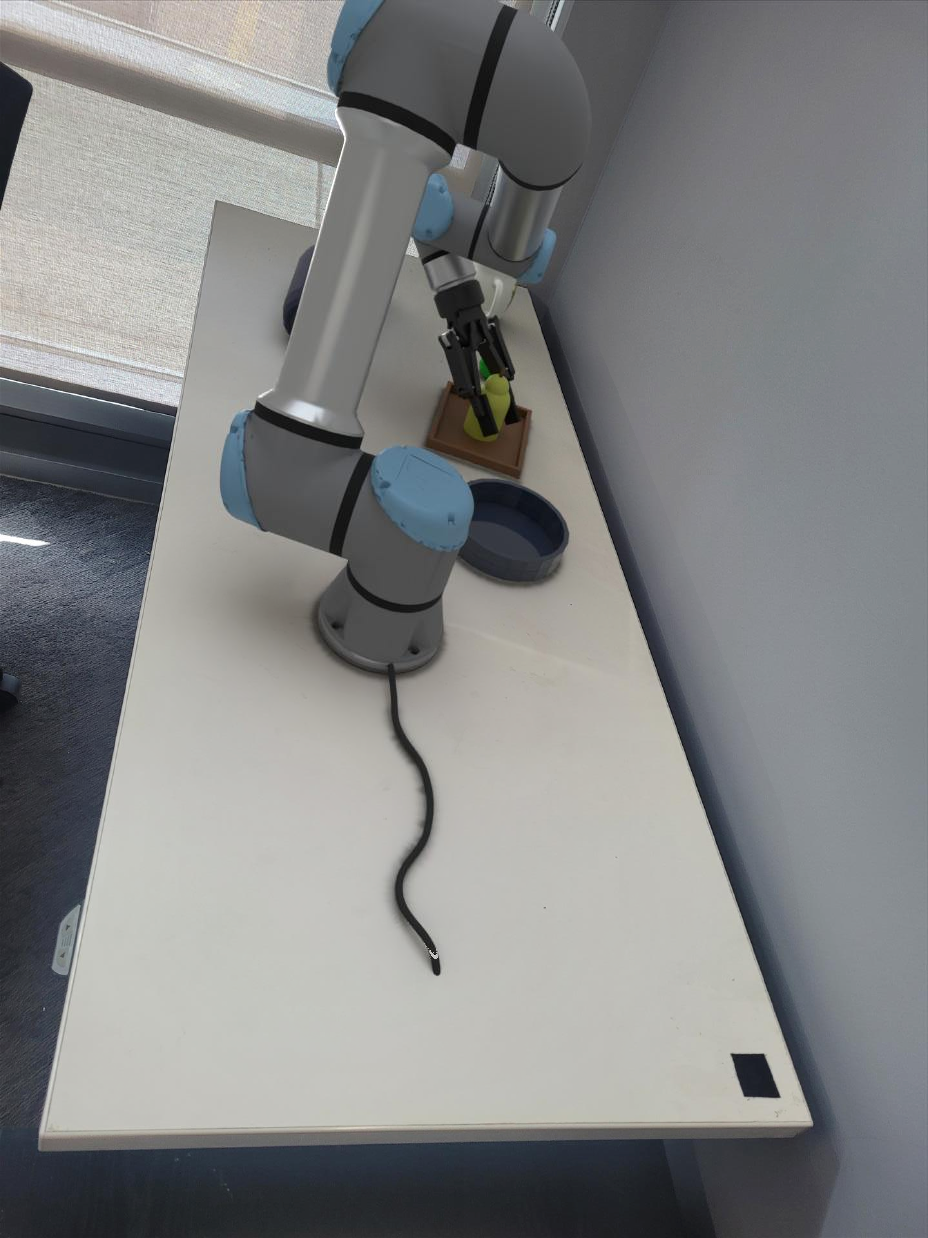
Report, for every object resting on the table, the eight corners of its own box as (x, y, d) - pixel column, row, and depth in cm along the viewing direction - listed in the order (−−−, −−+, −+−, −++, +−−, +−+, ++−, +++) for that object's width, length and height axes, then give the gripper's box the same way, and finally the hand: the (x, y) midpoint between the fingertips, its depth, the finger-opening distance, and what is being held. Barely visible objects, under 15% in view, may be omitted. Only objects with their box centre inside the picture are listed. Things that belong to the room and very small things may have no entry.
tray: (517, 481, 131) (521, 471, 130) (424, 449, 130) (428, 438, 128) (528, 420, 145) (532, 410, 144) (444, 390, 144) (448, 380, 142)
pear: (495, 446, 135) (519, 383, 127) (460, 433, 135) (483, 370, 127) (499, 427, 140) (523, 365, 131) (466, 415, 139) (488, 353, 131)
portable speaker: (333, 361, 139) (345, 307, 133) (274, 345, 137) (283, 289, 131) (348, 296, 157) (358, 245, 150) (296, 281, 155) (304, 229, 148)
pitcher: (457, 334, 160) (478, 266, 150) (449, 291, 172) (468, 226, 162) (510, 347, 163) (534, 281, 153) (498, 304, 175) (520, 240, 166)
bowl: (553, 599, 114) (565, 577, 111) (433, 559, 112) (442, 535, 109) (561, 524, 127) (572, 502, 124) (453, 487, 125) (461, 464, 122)
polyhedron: (506, 381, 153) (515, 358, 149) (489, 386, 149) (497, 363, 146) (487, 367, 154) (495, 344, 151) (470, 371, 151) (478, 348, 148)
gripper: (471, 283, 136) (515, 417, 143) (399, 304, 123) (451, 451, 130) (506, 267, 131) (550, 407, 138) (435, 288, 118) (487, 441, 125)
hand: (502, 428), depth 134 cm, fingers closed on pear, 6 cm apart
